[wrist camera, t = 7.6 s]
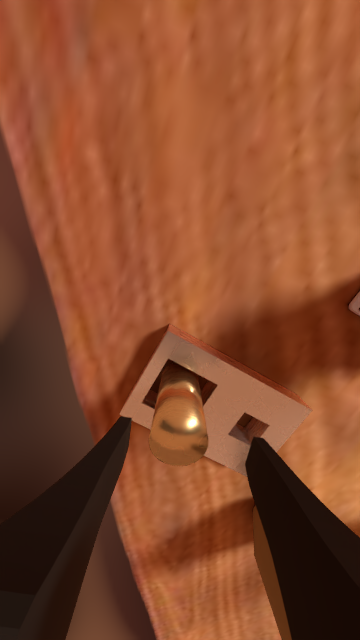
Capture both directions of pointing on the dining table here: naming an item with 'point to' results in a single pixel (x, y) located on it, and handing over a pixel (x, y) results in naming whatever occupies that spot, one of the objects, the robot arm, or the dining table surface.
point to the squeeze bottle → (269, 576)
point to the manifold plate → (221, 399)
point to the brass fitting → (178, 418)
